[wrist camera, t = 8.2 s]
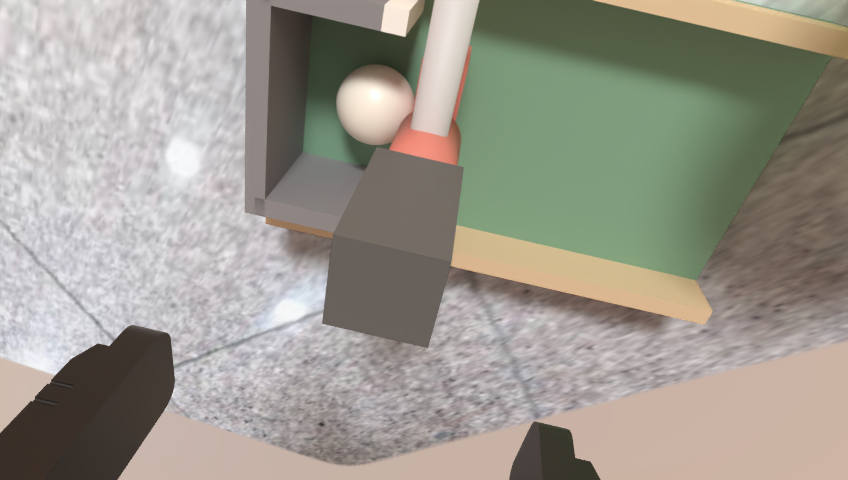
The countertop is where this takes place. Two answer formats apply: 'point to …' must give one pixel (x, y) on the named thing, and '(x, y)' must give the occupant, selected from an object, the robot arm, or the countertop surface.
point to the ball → (374, 103)
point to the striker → (407, 202)
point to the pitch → (549, 129)
